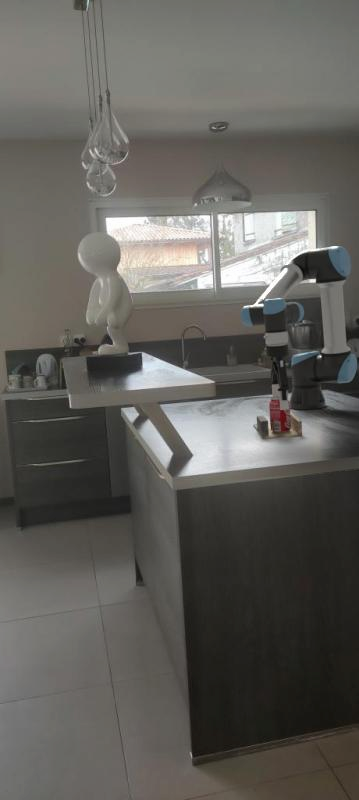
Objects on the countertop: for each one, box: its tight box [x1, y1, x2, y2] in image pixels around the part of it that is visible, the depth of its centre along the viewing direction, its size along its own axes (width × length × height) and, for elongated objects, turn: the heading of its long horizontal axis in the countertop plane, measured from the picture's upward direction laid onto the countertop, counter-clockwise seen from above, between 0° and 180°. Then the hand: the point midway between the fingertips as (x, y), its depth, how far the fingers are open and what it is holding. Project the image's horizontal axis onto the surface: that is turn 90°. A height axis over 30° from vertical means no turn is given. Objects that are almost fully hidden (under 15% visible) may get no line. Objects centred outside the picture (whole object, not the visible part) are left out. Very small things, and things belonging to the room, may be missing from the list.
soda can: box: [268, 396, 291, 433], centre depth 200 cm, size 7×7×12 cm
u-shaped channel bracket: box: [253, 411, 303, 440], centre depth 206 cm, size 13×22×6 cm, turn 1°
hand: (280, 405), depth 200 cm, fingers open, 13 cm apart
